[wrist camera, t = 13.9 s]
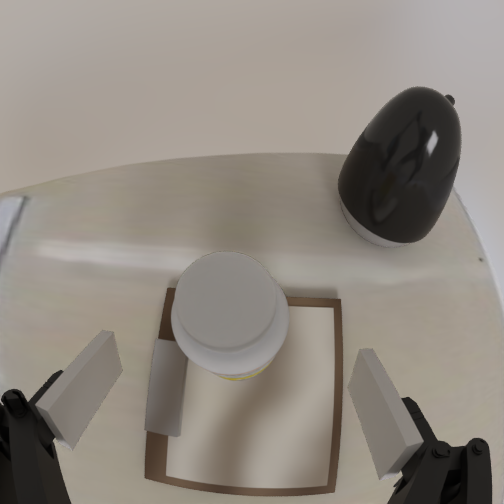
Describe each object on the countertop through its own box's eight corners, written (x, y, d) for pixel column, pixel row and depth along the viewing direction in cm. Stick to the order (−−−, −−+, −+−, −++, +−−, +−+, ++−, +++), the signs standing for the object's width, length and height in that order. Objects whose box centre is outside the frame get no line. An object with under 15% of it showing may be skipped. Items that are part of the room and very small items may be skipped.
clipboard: (147, 476, 14) (139, 481, 12) (169, 290, 22) (163, 282, 20) (332, 490, 13) (339, 496, 12) (338, 301, 21) (344, 294, 20)
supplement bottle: (217, 298, 21) (193, 217, 12) (285, 323, 20) (315, 258, 11) (186, 363, 18) (130, 330, 9) (258, 393, 17) (268, 392, 8)
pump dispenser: (430, 229, 25) (501, 125, 12) (382, 284, 22) (485, 158, 9) (367, 171, 29) (407, 59, 16) (308, 209, 26) (342, 62, 13)
